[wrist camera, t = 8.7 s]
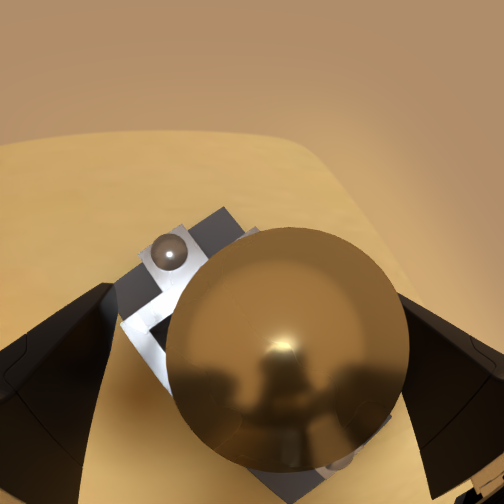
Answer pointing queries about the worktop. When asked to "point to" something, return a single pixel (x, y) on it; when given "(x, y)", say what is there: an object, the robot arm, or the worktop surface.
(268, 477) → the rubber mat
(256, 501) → the worktop surface
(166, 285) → the grey framed plate
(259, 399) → the amber cylinder
